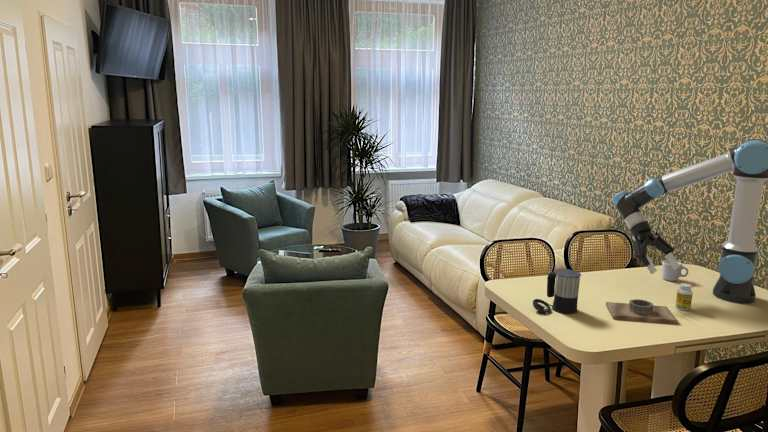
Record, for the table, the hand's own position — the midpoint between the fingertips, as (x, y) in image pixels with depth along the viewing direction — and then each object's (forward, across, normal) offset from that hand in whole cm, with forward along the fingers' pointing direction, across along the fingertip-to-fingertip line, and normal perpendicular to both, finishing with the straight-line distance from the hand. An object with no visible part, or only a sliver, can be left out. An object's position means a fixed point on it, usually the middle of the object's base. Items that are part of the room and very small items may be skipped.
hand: (665, 270), depth 230 cm
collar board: (+13, +20, -5) cm, 25 cm away
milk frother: (+2, +46, -17) cm, 49 cm away
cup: (-2, -29, -21) cm, 35 cm away
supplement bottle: (+16, 0, -3) cm, 16 cm away
